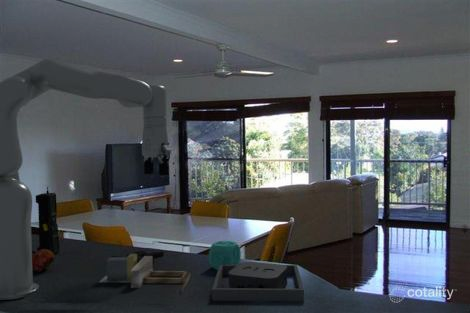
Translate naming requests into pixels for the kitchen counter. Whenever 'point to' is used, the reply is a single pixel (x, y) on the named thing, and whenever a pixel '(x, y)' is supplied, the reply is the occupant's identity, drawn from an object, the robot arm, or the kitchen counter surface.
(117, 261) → the latch bar
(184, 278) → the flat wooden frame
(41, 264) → the pomegranate
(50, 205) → the portable radio
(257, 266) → the streaming box
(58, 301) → the kitchen counter surface
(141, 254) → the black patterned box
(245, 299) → the dark rectangular frame
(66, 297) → the kitchen counter surface
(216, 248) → the decorative dice
